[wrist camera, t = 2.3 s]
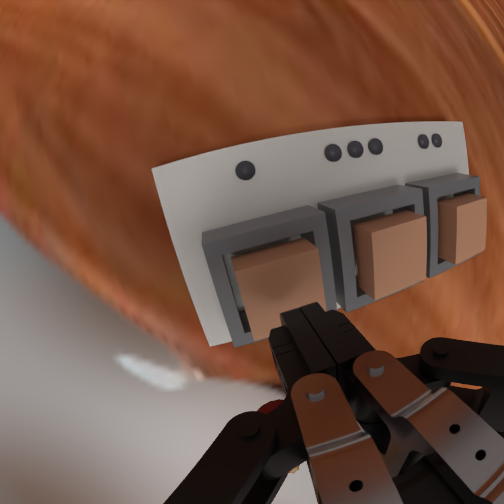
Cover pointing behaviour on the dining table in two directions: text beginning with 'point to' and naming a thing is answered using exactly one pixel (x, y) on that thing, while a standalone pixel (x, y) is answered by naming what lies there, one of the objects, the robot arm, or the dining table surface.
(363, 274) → the button three
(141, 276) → the dining table surface
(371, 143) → the button panel
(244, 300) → the button one
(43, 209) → the dining table surface
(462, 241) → the button two
